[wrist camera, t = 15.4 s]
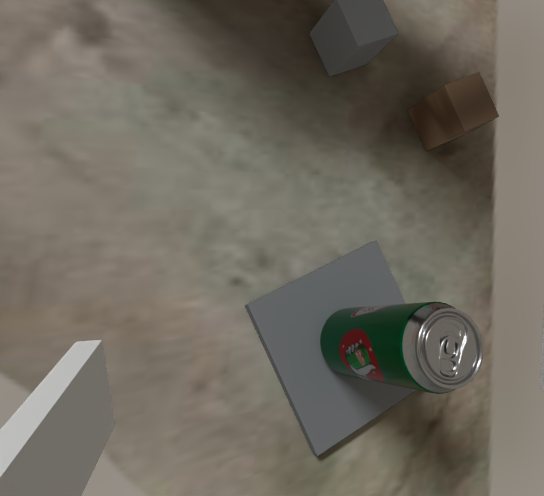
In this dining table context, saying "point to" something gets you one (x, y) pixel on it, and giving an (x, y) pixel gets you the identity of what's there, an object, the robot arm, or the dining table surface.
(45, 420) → the robot arm
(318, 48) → the slate grey block
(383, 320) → the soda can
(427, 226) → the dining table surface
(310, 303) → the grey square plate
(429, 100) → the walnut block
